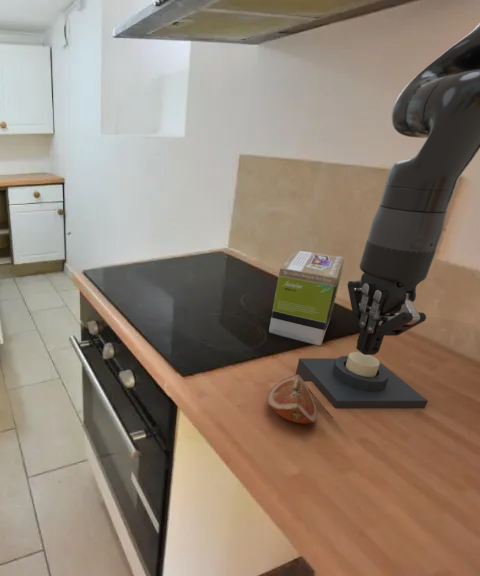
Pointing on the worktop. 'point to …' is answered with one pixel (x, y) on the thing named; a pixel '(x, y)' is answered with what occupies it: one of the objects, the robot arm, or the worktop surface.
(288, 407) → the fruit slice
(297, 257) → the tea box
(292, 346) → the worktop surface
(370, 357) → the button
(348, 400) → the dark grey button base
